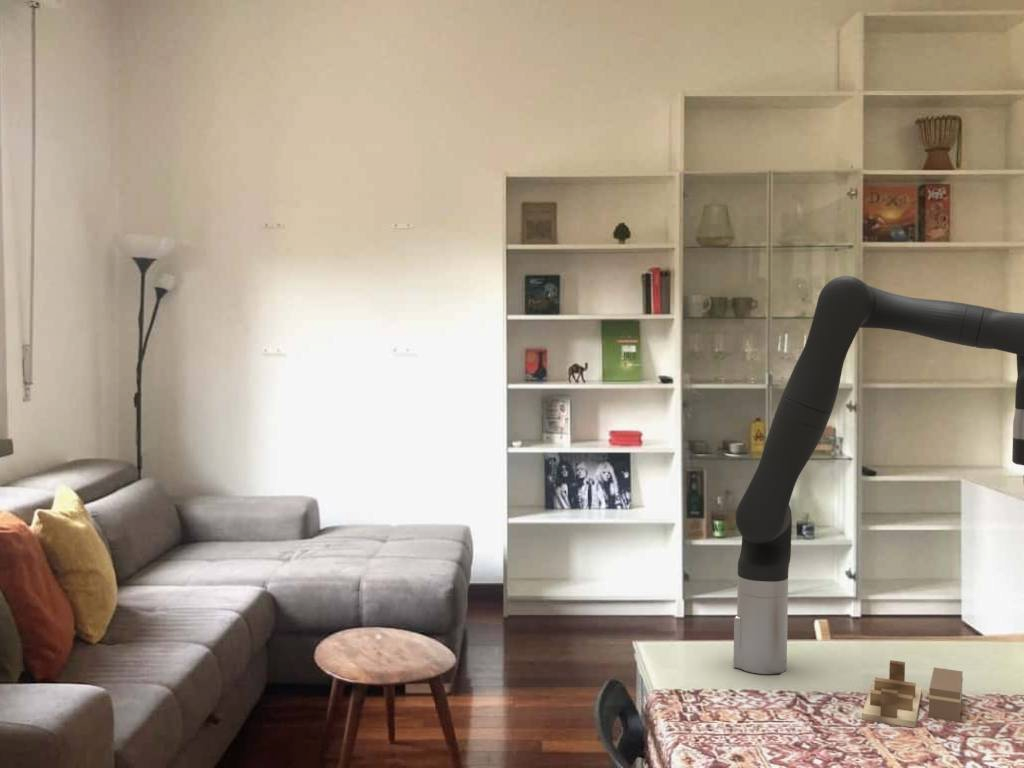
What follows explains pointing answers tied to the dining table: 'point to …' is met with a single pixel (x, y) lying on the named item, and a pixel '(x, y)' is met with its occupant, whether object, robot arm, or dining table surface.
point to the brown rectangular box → (945, 694)
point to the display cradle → (893, 699)
